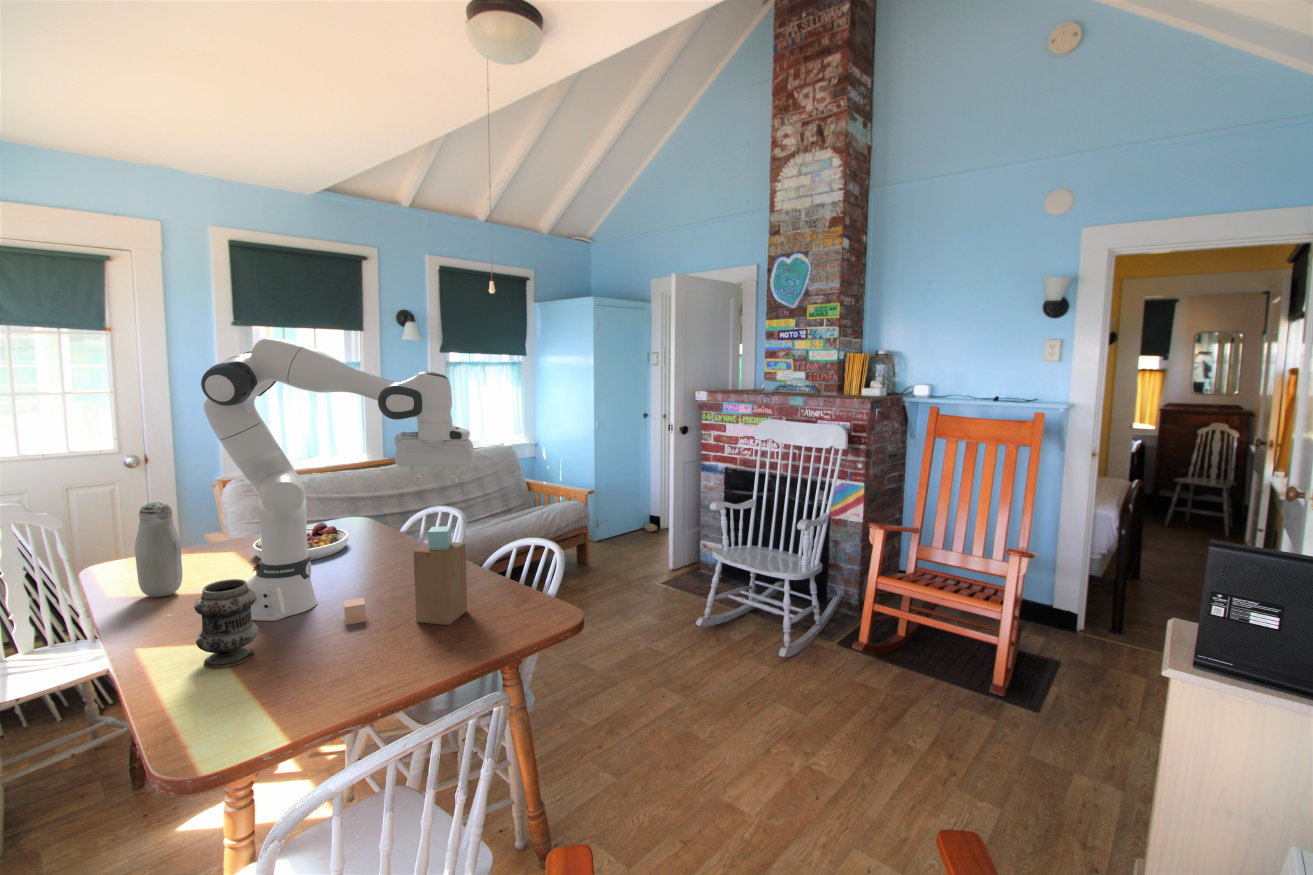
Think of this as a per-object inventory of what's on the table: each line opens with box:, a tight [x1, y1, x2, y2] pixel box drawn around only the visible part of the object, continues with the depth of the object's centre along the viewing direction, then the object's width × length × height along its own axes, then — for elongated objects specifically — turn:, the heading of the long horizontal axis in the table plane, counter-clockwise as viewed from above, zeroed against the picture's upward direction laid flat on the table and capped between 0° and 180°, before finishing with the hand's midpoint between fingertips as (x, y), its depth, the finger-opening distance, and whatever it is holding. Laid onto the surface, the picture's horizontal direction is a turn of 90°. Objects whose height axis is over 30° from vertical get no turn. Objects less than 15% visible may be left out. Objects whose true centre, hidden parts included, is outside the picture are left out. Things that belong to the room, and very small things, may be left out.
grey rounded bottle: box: [134, 501, 183, 598], centre depth 180 cm, size 10×10×28 cm
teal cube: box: [427, 525, 452, 550], centre depth 166 cm, size 5×5×5 cm
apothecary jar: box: [193, 578, 259, 669], centre depth 143 cm, size 12×12×18 cm
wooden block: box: [413, 541, 468, 626], centre depth 168 cm, size 10×10×20 cm
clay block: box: [343, 597, 367, 626], centre depth 166 cm, size 5×5×5 cm
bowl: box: [252, 522, 349, 561], centre depth 223 cm, size 30×30×8 cm
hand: (436, 482), depth 167 cm, fingers open, 8 cm apart
